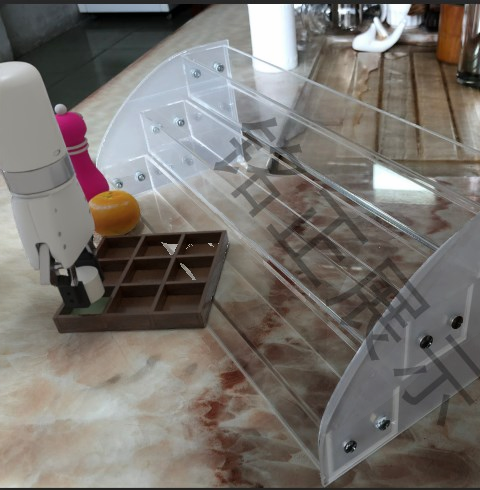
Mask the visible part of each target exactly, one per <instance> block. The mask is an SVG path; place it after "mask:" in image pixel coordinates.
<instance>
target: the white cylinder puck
mask: <svg viewBox="0 0 480 490" xmlns="http://www.w3.org/2000/svg"><path fill="white" fill-rule="evenodd" d="M75 268H76V267H75ZM76 272H77V277H78V281H82V282H83V284H84V287H85V290H86V292H87V295H88V297H89V300H90V302H91V303H94V302H95V301H97V300H99V299H100V298H101V297H102V296H103V294H104V292H105V289H104V286H103V283H102V281H101V278H100V275H99V272H98V270H97V269H96V268H95V267H93V266H82V267H78V268H76ZM64 275H66V276H68V273H67V272H66V273H65V274H64Z"/></svg>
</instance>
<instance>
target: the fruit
mask: <svg viewBox="0 0 480 490" xmlns="http://www.w3.org/2000/svg"><path fill="white" fill-rule="evenodd" d="M88 205H89V207H90V210H91V213H92V216H93V220H94V224H95V230H94V233H96V234H97V235H99V236H101V237H103V236H111V235H127V234H128V233H130V232H131V231H132V230H134V229H135V228H136V226H137V225H138V223H139V221H140V218H141V206H140V203H139V202H138V200H137V199H136V197H135V196H133V194H131V193H129V192H127V191H125V190H120V189H119V190H118V189H117V190H109V191H107V192H103V193H100V194H98V195H97V196H95V197H93V198H92V199H91V200H90V201H89V203H88Z"/></svg>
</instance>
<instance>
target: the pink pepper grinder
mask: <svg viewBox="0 0 480 490" xmlns="http://www.w3.org/2000/svg"><path fill="white" fill-rule="evenodd" d="M73 112H74V111H68V108H67V107H66V106H65V105H64V104H62V103H58V104H56V105H55V106H54V113H56V114H55V117H56V120H57V122H58V125H59V128H60V131H61V134H62V137H63V139H64V142H65V145H66V148H67V151H68V154H69V157H70V159H71V162H72V165H73V168H74V171H75V173H76V178H77V180H78V182H79V184H80V186H81V188H82V190H83V193H84V195H85V197H86V200H87V202H88V203H89V201H90V200H91V199H92V198H93V197H95V196H97V195H98V194H100V193H103V192H107V191H110V185H109V182H108V180H107V178H106V176H105V175H104V174H103V173H102V171H101V170H100V169H99V168H98V167H97V165H95V163H94V161H93V160H92V158H91V155H90V154H89V147H90V143H89V142H88V138H87V137H86V135H87V131H88V128H87V124H86V122H85V119H84V117H83V118H82V117H81V116H79V115H78V114H76V113H73Z"/></svg>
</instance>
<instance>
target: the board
mask: <svg viewBox="0 0 480 490" xmlns="http://www.w3.org/2000/svg"><path fill="white" fill-rule="evenodd" d="M161 242H163V243H167V244H178V245H177V247H176V249H175V252H174V254H173V255H170V254H169V252H168V251H167V249H166V248H165V247H164V246H163V244H162V243H161ZM228 242H229V243H230V240H229V235H228V231H227V230H226V229H218V230H217V229H214V230H198V231H197V230H195V231H175V232H156V233H155V232H154V233H152V232H151V233H136V234H135V233H134V234H133V233H132V234H124V235H111V236H102V238H101V239H100V241H99V242H98V244H97V246H95V247H96V249H97V254H96V256H94V257H97V258H98V261H99V263H100V266H101V269H102V272H103V274H104V277H105V280H104V281H103V282H102V283H103V286H104V289H105V292H104V294H103V296H102V297H101V298H100V299H99V300H97V301H95V302H94V303H91V305H90V307H89V308H75V309H68V308H66V306H65V304H64V302H63V301H62V302H61V304H60V305H59V307H58V308H57V310H56V312H55V313H54V315H53V317H52V320H53V323H54V325H55V327H56V330H57V332H58V334H62V333H64V334H65V333H89V332H119V331H120V332H121V331H143V330H144V331H145V330H172V329H173V330H174V329H198V328H205V327H206V323H207V320H208V318H209V314H210V309H211V307H212V304H213V301H212V302H211V297H212V296H213V295H214V296H215V293H216V290H217V286H218V283H219V280H220V276H221V273H220V272H222V269H223V266H222V265H224V263H223V260H224V261H225V259H224V256H225V252H226V249H227V245H228ZM208 243H212V245H213V246H214V247H213V246H210V245H209V244H208ZM218 243H219V244H218ZM189 244H190V245H189ZM191 244H192V245H193V246H192V245H191ZM188 245H189V246H190V247H189V246H188ZM187 247H188V248H187ZM186 248H187V249H186ZM227 250H228V249H227ZM226 253H227V252H226ZM225 257H226V256H225ZM180 263H182V264H184V265H185V266H186V267H187V268H188V269H189V270H190V271H191V273H192V274H193V276H194V277H195V279H196V280H192V278H191V277H190V276H189V275H188V274H187V273H186V271H185V270H184V269H183V268H182V267H181V265H180ZM221 268H222V269H221ZM219 275H220V276H219ZM218 279H219V280H218ZM215 289H216V290H215Z"/></svg>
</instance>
